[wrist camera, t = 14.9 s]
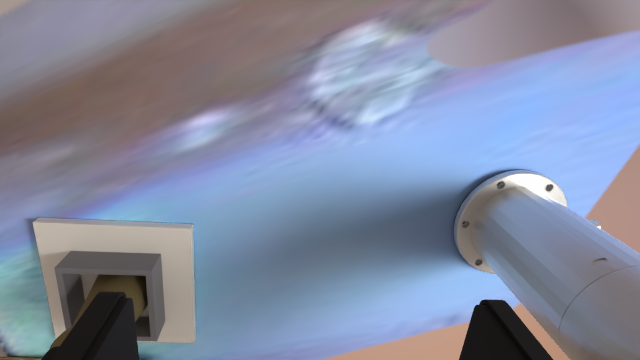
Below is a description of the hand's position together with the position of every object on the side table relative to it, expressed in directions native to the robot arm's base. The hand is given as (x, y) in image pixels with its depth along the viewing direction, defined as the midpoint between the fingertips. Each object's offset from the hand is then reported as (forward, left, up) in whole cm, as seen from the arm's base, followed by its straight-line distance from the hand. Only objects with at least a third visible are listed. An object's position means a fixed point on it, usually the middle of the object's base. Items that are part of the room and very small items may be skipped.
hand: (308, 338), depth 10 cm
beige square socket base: (+17, +20, -28) cm, 38 cm away
